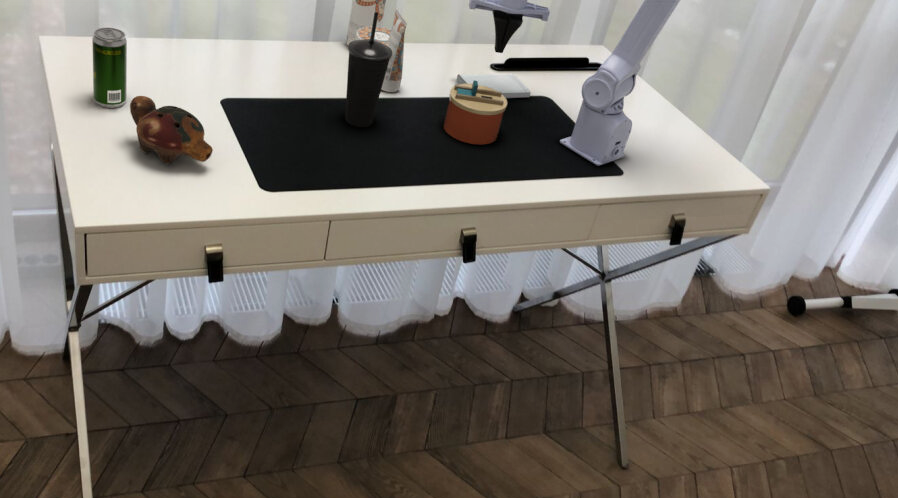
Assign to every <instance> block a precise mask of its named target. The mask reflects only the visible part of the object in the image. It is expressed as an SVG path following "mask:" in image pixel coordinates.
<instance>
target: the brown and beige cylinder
mask: <svg viewBox="0 0 898 498" xmlns="http://www.w3.org/2000/svg"><path fill="white" fill-rule="evenodd" d="M472 85H473V84H459V83H458V84H454V86H452V87H451V88H450V90H449V94H448V97H449V100H448V104H447V109H446V113H445V117H444V121H443V130H444V131H445V133H446V134H448V135H449V136H451V138H453V139H455V140H457V141H460V142H461V143H465V144H470V145H477V146H478V145H479V146H483V145H489V144H492V143H494V142H495V141H496V140H497V139H498V136H499V132H500V128H501V124H502V122H503V118H504V114H505V111H506V109H507V107H508V100H507V98H505V97H504V96H503V95H502V92H498V91H496V90H494V89H492V88H489V87H486V86H482V85H478V89H477V93H476V96H470V95H463V94H457V88H459V89H465V90H471V89H472Z"/></svg>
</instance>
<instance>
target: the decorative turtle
mask: <svg viewBox="0 0 898 498" xmlns="http://www.w3.org/2000/svg"><path fill="white" fill-rule="evenodd" d="M129 111H130V115H131V117H132V120H133V122H134V123H135V125H136V128H135V129H136V136H137V140H138V144H139V148H140V150H141V151H142V152H143V153H145V154H150V153H152V152H155V153H156V155H158V157H159V159H160V160H161V161H162V162H163V163H164V164H167V165H169V164H172V163H173V162H174V161H175V160H176V159H177V157H178V156H181V155H182V156H186V157H188V158H191V159H194V160H196V161H198V162H201V163H204V162H206V161H207V160H209V159H210V158H211V156H212V154H213V151H214V149H213V147H212V145H210V144H209V143H208V142H206V141H205V128H204V126H203V124H202V122H201V121H200V120H199V118H197V117H196V116H195V115H194V114H192V113H191V112H190V111H188V110H185V108H181V107H178V106H176V105H163V106H160V107H158V108H157V106H156V103H155V101H154V100H153V99H152V98H151V97H149V96H145V95H136V96H135V97H133V99H132V100H130V103H129Z"/></svg>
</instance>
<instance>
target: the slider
mask: <svg viewBox="0 0 898 498" xmlns="http://www.w3.org/2000/svg"><path fill="white" fill-rule="evenodd" d="M477 89H478V82H477V81H473V85H472V89H471V90H465V89H459V88H457V94H463V95H470V96H476V93H477Z"/></svg>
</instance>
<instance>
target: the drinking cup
mask: <svg viewBox="0 0 898 498" xmlns="http://www.w3.org/2000/svg"><path fill="white" fill-rule="evenodd" d="M377 19H378V13H377V12H375V13H374V18H373V24H372V30H371V36H370V39H362V40H355V41H352V42H350V43H349V45H347V51H348V61H347V62H348V64H347V80H346V96H345V114H344V115H345V116H344V120H345V123H347V124H348V125H350V126H353V127H356V128H367V127H370V126H371V125H372V123H373V121H374V117H375V112H376V110H377V106H378V102H379V99H380V95H381V92H382V89H381V88H382V85H383V81H384V78H385V74H386V70H387V67H388V63H389V60H390V58H391V57H392V54H393V52H392V50H391V49H390V48H389V47H388V46H387V45H385V44H383V43H381V42H379V41H376V40H374V37H375V31H376V25H377Z"/></svg>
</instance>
